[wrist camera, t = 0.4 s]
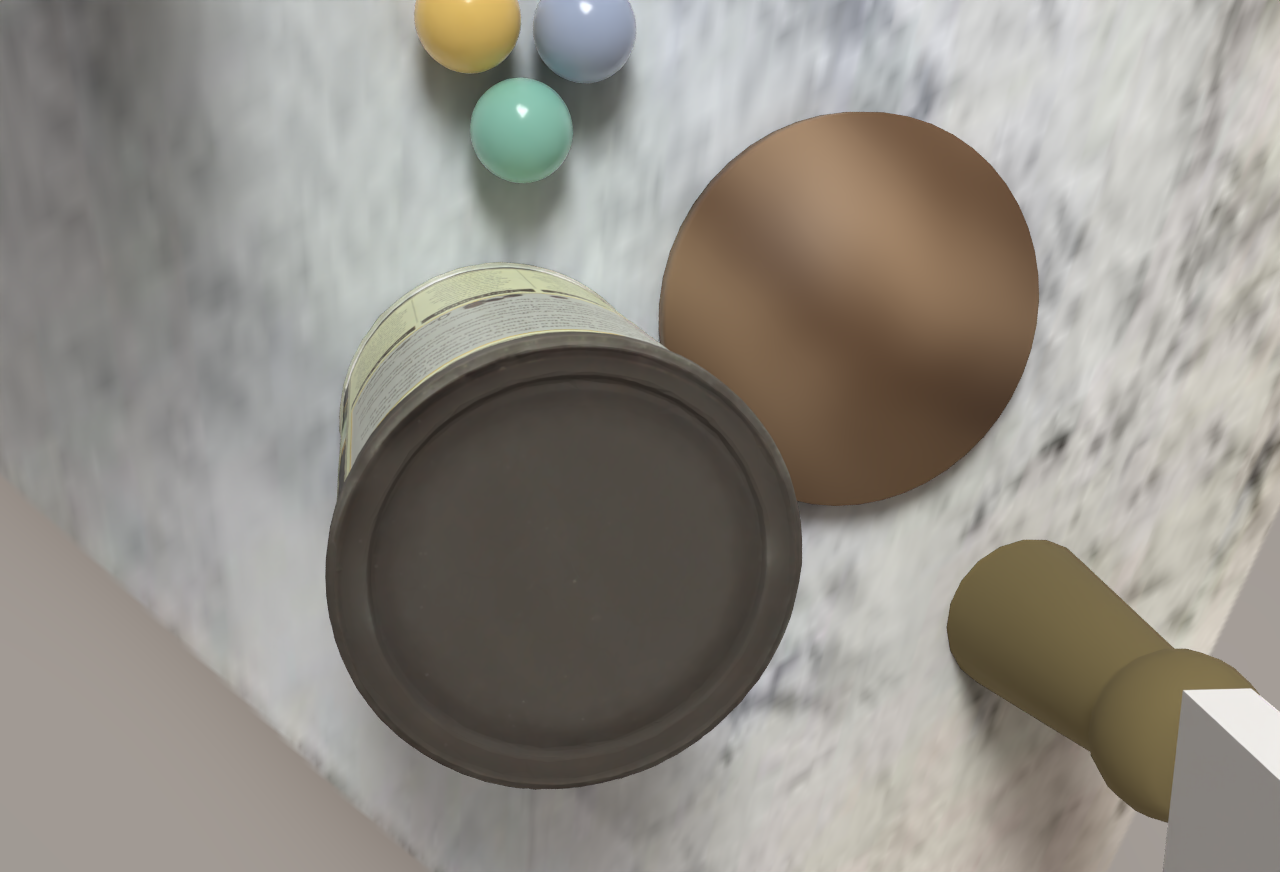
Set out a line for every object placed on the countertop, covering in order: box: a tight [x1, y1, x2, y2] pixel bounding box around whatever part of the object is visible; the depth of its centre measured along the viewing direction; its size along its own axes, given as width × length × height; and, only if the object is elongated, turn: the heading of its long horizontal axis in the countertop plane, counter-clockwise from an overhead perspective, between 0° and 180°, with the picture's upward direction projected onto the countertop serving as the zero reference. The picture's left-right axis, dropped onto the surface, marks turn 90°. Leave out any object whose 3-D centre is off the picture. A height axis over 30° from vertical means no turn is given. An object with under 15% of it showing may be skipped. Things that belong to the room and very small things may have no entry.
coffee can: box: [325, 262, 802, 790], centre depth 32 cm, size 10×10×14 cm
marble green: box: [470, 78, 573, 183], centre depth 35 cm, size 3×3×3 cm
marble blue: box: [533, 0, 636, 83], centre depth 35 cm, size 3×3×3 cm
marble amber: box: [414, 0, 521, 74], centre depth 34 cm, size 3×3×3 cm
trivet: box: [659, 112, 1039, 506], centre depth 40 cm, size 13×13×1 cm
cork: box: [947, 540, 1260, 823], centre depth 40 cm, size 6×6×11 cm
